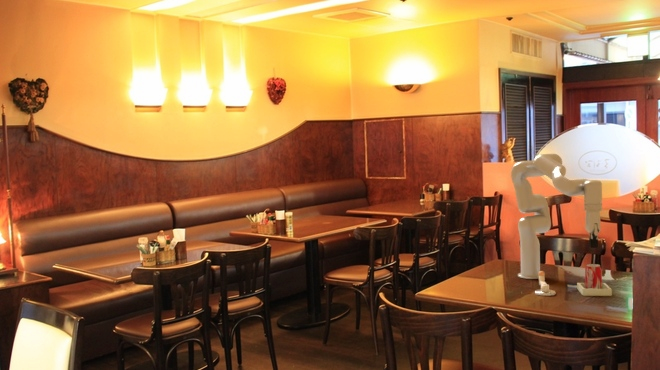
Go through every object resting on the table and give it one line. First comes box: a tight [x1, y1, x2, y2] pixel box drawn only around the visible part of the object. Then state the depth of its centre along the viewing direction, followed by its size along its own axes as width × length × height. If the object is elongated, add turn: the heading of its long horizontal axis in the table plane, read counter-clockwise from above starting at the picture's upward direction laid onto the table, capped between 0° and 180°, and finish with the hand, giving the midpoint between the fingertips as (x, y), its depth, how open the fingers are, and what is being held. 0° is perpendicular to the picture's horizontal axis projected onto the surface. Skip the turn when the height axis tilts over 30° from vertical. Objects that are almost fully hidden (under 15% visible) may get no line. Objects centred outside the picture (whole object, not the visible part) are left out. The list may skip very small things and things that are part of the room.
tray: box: [576, 282, 613, 297], centre depth 293 cm, size 12×12×3 cm
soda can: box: [584, 263, 603, 289], centre depth 293 cm, size 7×7×12 cm
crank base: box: [534, 288, 556, 297], centre depth 294 cm, size 9×9×1 cm
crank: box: [538, 270, 550, 292], centre depth 299 cm, size 4×13×7 cm, turn 170°
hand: (593, 247), depth 292 cm, fingers closed
